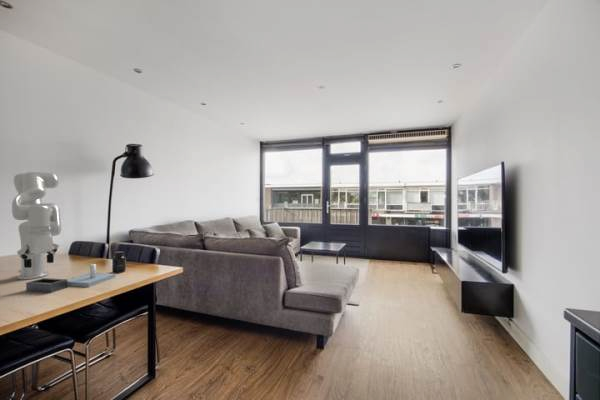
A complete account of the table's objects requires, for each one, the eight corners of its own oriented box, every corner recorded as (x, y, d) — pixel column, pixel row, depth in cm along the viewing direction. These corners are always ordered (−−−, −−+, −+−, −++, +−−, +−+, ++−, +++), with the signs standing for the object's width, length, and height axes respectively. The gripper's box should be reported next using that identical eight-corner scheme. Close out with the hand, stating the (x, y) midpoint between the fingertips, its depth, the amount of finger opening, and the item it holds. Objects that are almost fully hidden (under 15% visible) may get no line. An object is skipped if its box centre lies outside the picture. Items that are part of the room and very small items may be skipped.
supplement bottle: (118, 273, 156) (118, 253, 155) (109, 273, 157) (109, 253, 157) (128, 270, 162) (128, 251, 162) (119, 269, 164) (119, 250, 164)
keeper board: (61, 285, 135) (61, 267, 135) (90, 275, 151) (90, 260, 151) (88, 286, 133) (88, 269, 133) (115, 277, 149) (115, 261, 149)
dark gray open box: (26, 291, 127) (26, 282, 127) (43, 285, 134) (43, 278, 134) (50, 292, 125) (50, 284, 125) (67, 287, 132) (67, 279, 132)
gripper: (51, 228, 139) (52, 260, 139) (11, 232, 122) (11, 269, 122) (63, 228, 138) (64, 261, 138) (24, 232, 121) (25, 269, 120)
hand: (39, 265), depth 130 cm, fingers open, 9 cm apart
